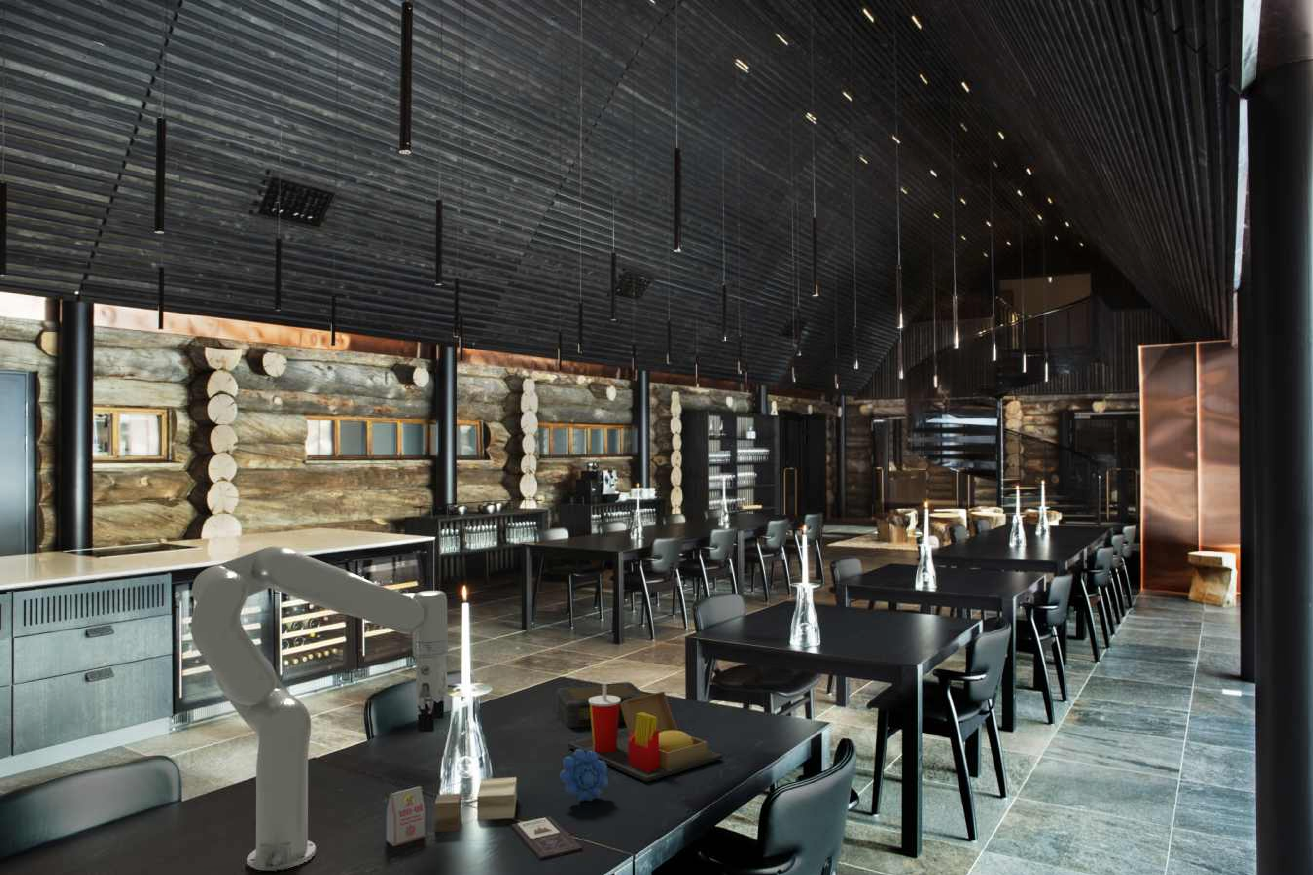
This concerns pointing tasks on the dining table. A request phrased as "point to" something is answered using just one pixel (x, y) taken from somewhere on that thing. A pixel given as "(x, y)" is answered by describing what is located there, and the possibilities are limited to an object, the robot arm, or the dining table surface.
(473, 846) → the dining table surface
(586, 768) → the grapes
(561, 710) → the cash box
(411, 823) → the white paper bag
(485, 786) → the block
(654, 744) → the fast food meal
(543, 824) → the chocolate bar
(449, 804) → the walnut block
